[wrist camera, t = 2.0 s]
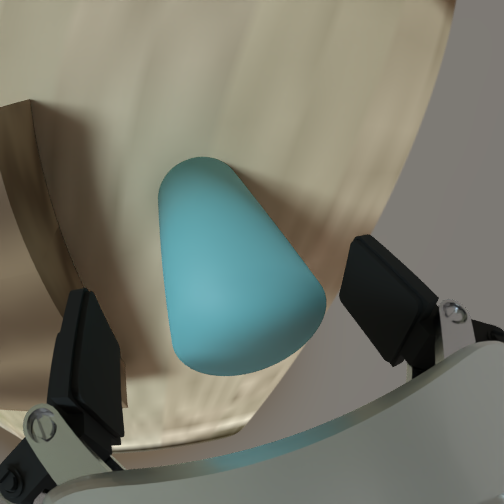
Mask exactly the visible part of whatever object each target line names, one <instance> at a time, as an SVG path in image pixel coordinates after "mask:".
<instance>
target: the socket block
mask: <svg viewBox="0 0 504 504" xmlns="http://www.w3.org/2000/svg"><path fill="white" fill-rule="evenodd" d="M82 288H83V285H82V283H81V281H80V279H79V276H78V274H77V272H76V269H75V267H74V265H73V262H72V260H71V257H70V255H69V252H68V250H67V247H66V244H65V242H64V239H63V236H62V233H61V231H60V228H59V225H58V222H57V219H56V216H55V213H54V210H53V206H52V203H51V200H50V196H49V193H48V189H47V186H46V182H45V178H44V174H43V170H42V166H41V161H40V157H39V152H38V147H37V142H36V137H35V131H34V125H33V119H32V112H31V104H30V99H29V100H25V101H21V102H17V103H14V104H10V105H7V106H3V107H0V409H3V410H16V411H29V410H30V408H32V407H33V406H35V405H37V404H41V403H43V404H46V403H47V393H48V384H49V377H50V370H51V363H52V357H53V351H54V346H55V341H56V337H57V334H58V333H59V332H60V330H61V325H62V321H63V316H64V312H65V308H66V304H67V300H68V296H69V293H70V291H71V290H76V289H82ZM120 373H121V397H122V408H128V405H127V392H126V376H125V364H124V362H123V361H122V359H121V358H120Z"/></svg>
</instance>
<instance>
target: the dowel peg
mask: <svg viewBox="0 0 504 504" xmlns="http://www.w3.org/2000/svg"><path fill="white" fill-rule="evenodd" d="M158 207H159V226H160V241H161V254H162V265H163V276H164V285H165V294H166V302H167V310H168V318H169V325H170V332H171V338H172V344H173V348H174V351H175V353H176V355H177V356H178V358H179V359H180V360H181V361H182V362H183V363H184V364H185V365H187V366H188V367H190V368H191V369H193V370H196V371H198V372H201V373H204V374H209V375H216V376H235V375H242V374H248V373H252V372H256V371H259V370H262V369H265V368H267V367H270V366H272V365H274V364H277V363H279V362H280V361H282V360H284V359H286V358H287V357H289V356H290V355H292V354H293V353H295V352H296V351H297V350H299V349H300V348H301V347H302V346H303V345H304V344H305V343H306V342H307V341H308V340H309V339H310V338H311V337H312V336H313V334H314V333H315V332H316V330H317V329H318V327H319V326H320V324H321V322H322V320H323V317H324V314H325V310H326V296H325V292H324V290H323V287H322V286H321V285H320V283H319V282H318V280H317V279H316V278H315V276H314V275H313V274H312V272H311V271H310V270H309V268H308V267H307V266H306V264H305V263H304V262H303V260H302V259H301V258H300V256H299V255H298V254H297V252H296V251H295V250H294V248H293V247H292V246H291V244H290V243H289V242H288V240H287V239H286V238H285V236H284V235H283V234H282V232H281V231H280V230H279V228H278V227H277V226H276V225H275V223H274V222H273V221H272V219H271V218H270V217H269V215H268V214H267V213H266V212H265V210H264V209H263V208H262V206H261V205H260V204H259V203H258V201H257V200H256V199H255V197H254V196H253V195H252V194H251V192H250V191H249V190H248V189H247V187H246V186H245V185H244V184H243V182H242V181H241V180H240V179H239V177H238V176H237V175H236V174H235V172H234V171H233V170H232V169H231V168H230V167H229V166H228V165H227V164H225V163H224V162H222V161H220V160H217V159H214V158H210V157H196V158H191V159H188V160H185V161H183V162H181V163H179V164H178V165H176V166H175V167H174V168H172V169H171V170H170V171H169V172H168V174H167V175H166V176H165V178H164V179H163V181H162V183H161V186H160V189H159V194H158Z"/></svg>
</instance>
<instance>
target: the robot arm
mask: <svg viewBox="0 0 504 504" xmlns="http://www.w3.org/2000/svg"><path fill="white" fill-rule="evenodd" d="M339 297H340V300H341V302H342V303H343V305H344V306H345V307H346V309H347V310H348V312H349V313H350V314H351V315H352V317H353V318H354V319H355V321H356V322H357V323H358V325H359V326H360V327H361V329H362V330H363V331H364V333H365V334H366V335H367V337H368V338H369V339H370V341H371V342H372V343H373V345H374V346H375V347H376V349H377V350H378V351H379V353H380V354H381V356H382V357H383V358H384V360H385V361H387V362H389V363H390V364H391V365H392V367H394V366H396V365H398V364H400V363H402V362H403V361H404V359H405V360H406V361H407V377H406V383H405V384H404V385H402V386H400V387H398V388H397V389H395V390H393V391H391V392H390V393H388V394H386V395H384V396H382V397H380V398H378V399H376V400H374V401H372V402H370V403H368V404H367V405H364V406H362V407H360V408H358V409H356V410H354V411H352V412H350V413H347V414H345V415H343V416H341V417H339V418H336V419H334V420H331V421H329V422H327V423H324V424H322V425H319V426H317V427H314V428H312V429H309V430H306V431H304V432H301V433H298V434H295V435H293V436H290V437H287V438H284V439H281V440H278V441H275V442H271V443H268V444H265V445H262V446H258V447H255V448H251V449H248V450H243V451H239V452H235V453H231V454H227V455H223V456H218V457H214V458H209V459H203V460H199V461H192V462H186V463H181V464H174V465H168V466H160V467H151V468H142V469H131V470H126V469H125V468H124V467H123V466H122V465H121V464H120V463H119V462H118V461H117V460H116V459H115V458H114V457H113V456H112V455H111V454H112V447H111V445H121V438H120V437H124V423H123V412H122V397H121V373H120V348H119V344H118V342H117V340H116V338H115V336H114V334H113V332H112V330H111V329H110V327H109V325H108V323H107V320H106V318H105V316H104V314H103V312H102V310H101V308H100V306H99V304H98V301H97V299H96V297H95V295H94V293H93V292H92V291H90V292H89V291H88V289H87V288H82V289H76V290H71V291H70V293H69V296H68V300H67V304H66V308H65V312H64V316H63V321H62V325H61V330H60V332H59V333H58V334H57V337H56V341H55V346H54V351H53V357H52V363H51V370H50V377H49V384H48V393H47V403H46V404H43V403H41V404H37V405H35V406H33V407H32V408H30V410H29V411H28V412H27V413H26V415H25V418H24V422H23V431H24V435H25V438H24V439H23V440H22V441H21V442H20V443H19V444H18V446H17V447H16V448H15V449H14V450H13V451H12V452H11V453H10V454H9V455H8V456H7V458H6V459H5V460H4V461H3V462H2V463H1V464H0V504H504V331H503V330H502V329H500V328H498V327H496V326H493V325H490V324H486V323H482V322H479V321H476V320H472V319H471V317H470V314H469V312H468V310H467V309H466V307H464V306H463V305H462V304H461V303H459V302H458V301H455V300H450V299H447V300H443V301H442V302H441V303H440V305H439V307H438V306H437V305H436V303H437V301H438V299H439V298H438V297H437V296H436V295H435V294H434V293H433V292H432V291H431V290H430V289H429V288H428V287H427V286H426V285H425V284H424V283H423V282H422V281H421V280H420V279H419V278H418V277H417V276H416V275H415V274H414V273H413V272H412V271H410V270H409V269H408V268H407V267H406V266H405V265H404V264H403V263H402V262H401V261H400V260H398V259H397V258H396V257H395V256H394V255H393V254H392V253H391V252H389V251H388V250H387V249H386V248H385V247H384V246H383V245H381V244H380V243H379V242H378V241H377V240H376V239H375V238H374V237H372V236H371V235H368V234H367V235H362V236H357V237H355V238H354V240H353V241H352V243H351V245H350V250H349V254H348V259H347V263H346V268H345V272H344V277H343V281H342V285H341V289H340V293H339Z"/></svg>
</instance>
